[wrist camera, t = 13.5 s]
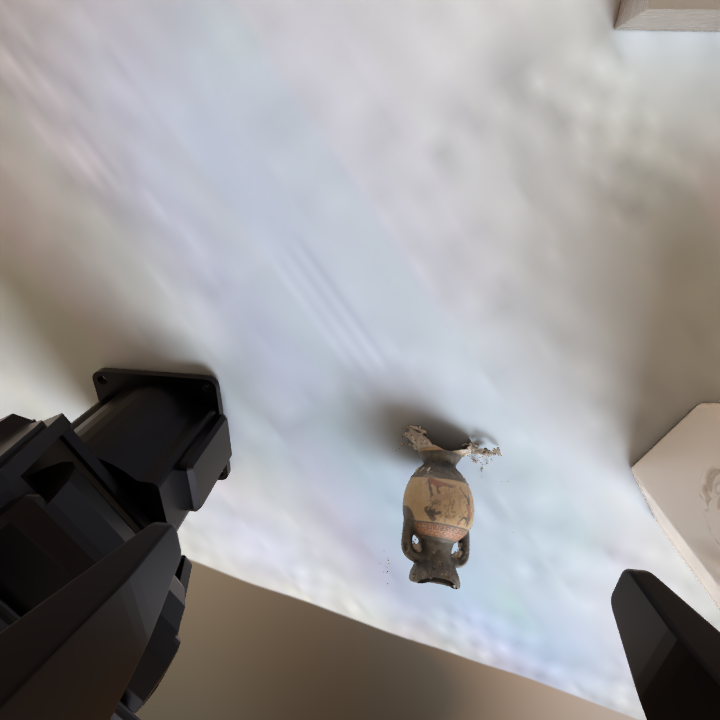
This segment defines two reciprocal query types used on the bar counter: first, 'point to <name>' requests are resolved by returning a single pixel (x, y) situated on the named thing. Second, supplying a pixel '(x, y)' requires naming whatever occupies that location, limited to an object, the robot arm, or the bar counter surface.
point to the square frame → (669, 15)
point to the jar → (688, 491)
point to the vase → (437, 511)
